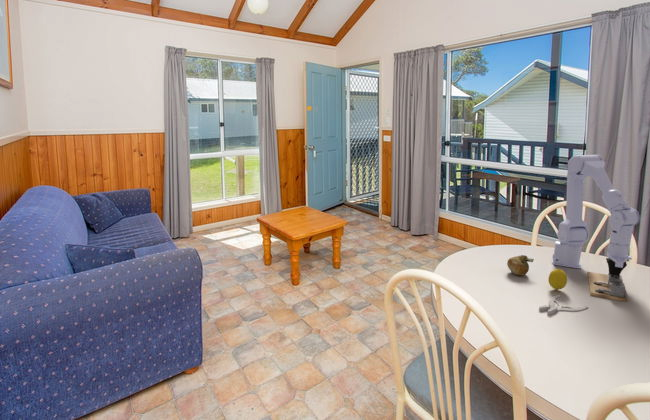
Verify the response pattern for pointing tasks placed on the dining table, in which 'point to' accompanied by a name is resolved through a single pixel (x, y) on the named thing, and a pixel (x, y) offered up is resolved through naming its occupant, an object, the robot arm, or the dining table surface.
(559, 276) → the lemon
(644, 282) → the dining table surface
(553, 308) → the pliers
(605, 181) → the robot arm
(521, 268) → the onion
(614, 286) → the fixed leg
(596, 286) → the gauge board
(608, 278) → the sliding leg
